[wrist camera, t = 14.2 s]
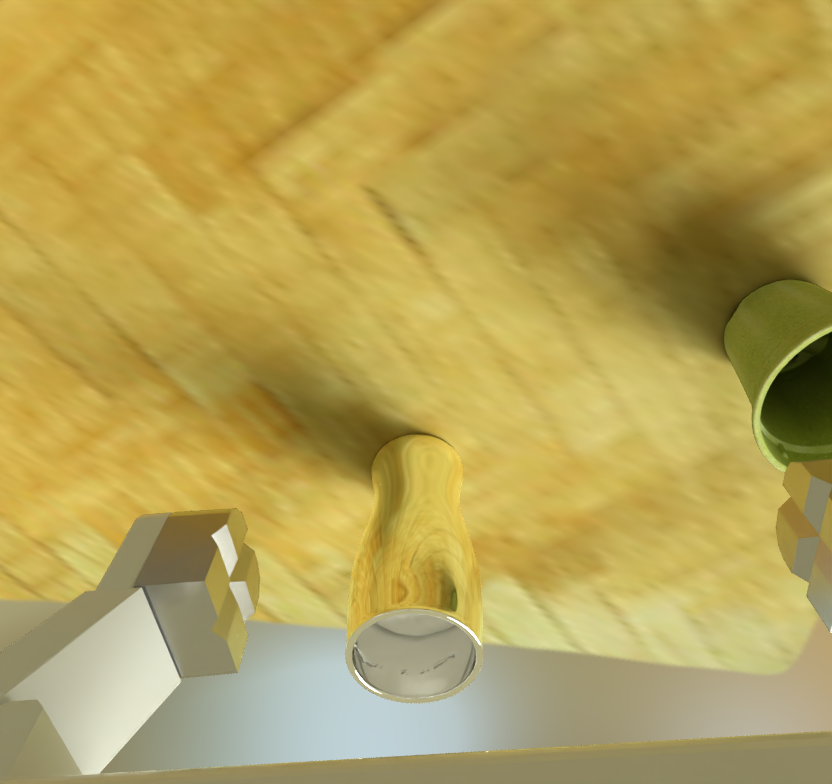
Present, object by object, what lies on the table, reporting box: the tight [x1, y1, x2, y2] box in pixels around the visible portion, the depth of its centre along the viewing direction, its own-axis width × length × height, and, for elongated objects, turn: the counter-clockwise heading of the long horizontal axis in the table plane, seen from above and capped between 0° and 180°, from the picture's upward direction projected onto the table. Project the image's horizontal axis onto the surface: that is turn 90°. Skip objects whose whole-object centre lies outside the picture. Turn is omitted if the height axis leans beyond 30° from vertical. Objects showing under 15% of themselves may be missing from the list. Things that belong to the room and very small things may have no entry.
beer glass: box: [345, 434, 483, 703], centre depth 39 cm, size 7×7×15 cm
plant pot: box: [724, 280, 832, 473], centre depth 37 cm, size 9×9×9 cm
